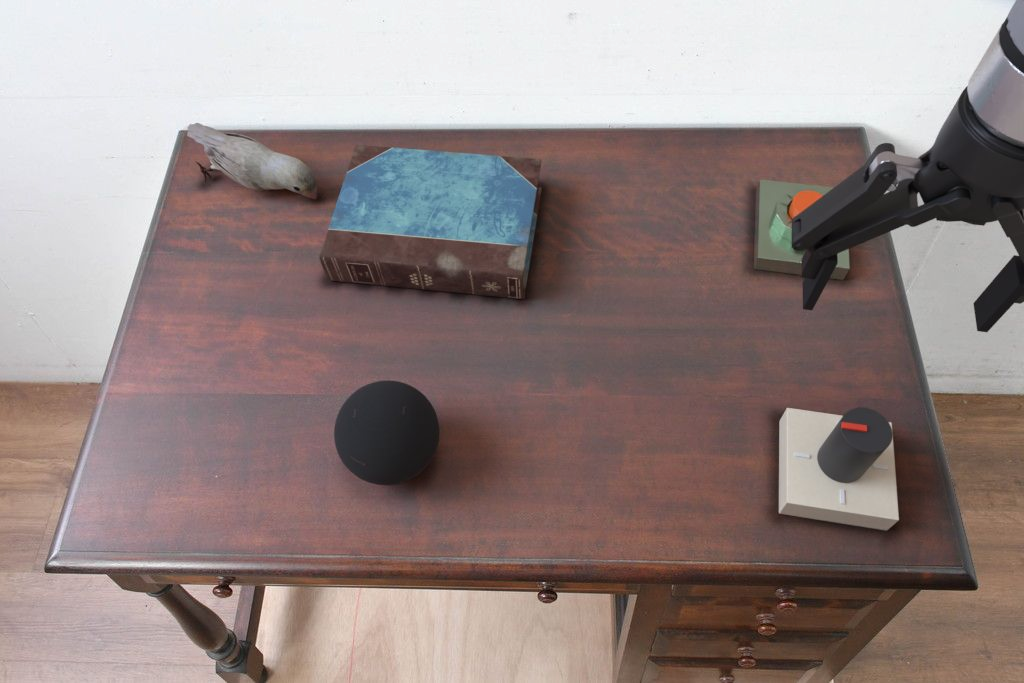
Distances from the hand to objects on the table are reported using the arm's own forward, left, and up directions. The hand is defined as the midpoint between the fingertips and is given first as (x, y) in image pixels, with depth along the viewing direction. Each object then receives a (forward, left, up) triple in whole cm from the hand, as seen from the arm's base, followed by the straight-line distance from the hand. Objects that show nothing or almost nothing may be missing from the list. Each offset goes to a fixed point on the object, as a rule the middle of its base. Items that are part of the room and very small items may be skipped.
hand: (892, 307), depth 65 cm
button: (+23, +2, -16) cm, 28 cm away
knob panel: (-7, -1, -19) cm, 21 cm away
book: (+17, +44, -20) cm, 51 cm away
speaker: (-12, +42, -20) cm, 48 cm away
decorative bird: (+21, +68, -20) cm, 74 cm away
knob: (-7, -1, -16) cm, 18 cm away
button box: (+23, +2, -19) cm, 30 cm away
